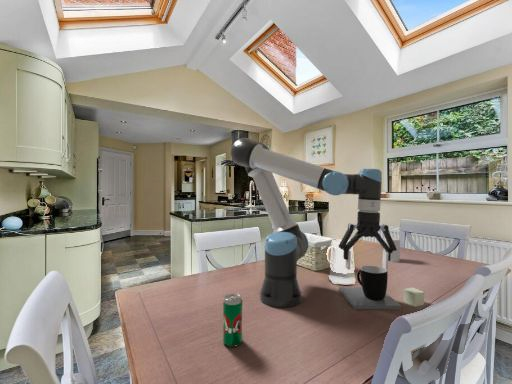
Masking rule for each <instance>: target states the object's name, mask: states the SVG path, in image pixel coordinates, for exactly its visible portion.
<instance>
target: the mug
mask: <svg viewBox="0 0 512 384" xmlns="http://www.w3.org/2000/svg"><path fill="white" fill-rule="evenodd" d="M356 273H357V274H356V279H357V282H358V283H359V285H360V287H362V289H363V293H364V295H365V297H367V298H368V299H371V300H383V299H384V298H385V295H386V293H387V289H388V277H389V275H388V271H387V269H386V268H383V267H382V266H379V265H371V264H370V265H366V264H365V265H362V266H360V269H359V270H358V271H357V272H356Z"/></svg>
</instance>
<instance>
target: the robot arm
mask: <svg viewBox="0 0 512 384" xmlns="http://www.w3.org/2000/svg"><path fill="white" fill-rule="evenodd" d="M230 157H231V159H232V161H233V162H234V163H235V164H236V165H238V166H240V167H244V168H245V171H246V173H247V176H248V177H250V178H252V179H253V181H254V184H255V186H256V189H257V192H258V194H259V197H260V199H261V201H262V203H263V206H264V209H265V211H266V214H267V216H268V217H269V220H270V222H271V226H272V228H273V231H272V233H269V234H268V235H267V236H266V237H265V241H264V279H263V282H262V284H261V287H260V291H259V299H260V301H261V302H262V303H263V304H266V305H268V306H270V307H274V308H291V307H296V306H297V305H299V304H300V303H301V302H302V291H301V288H300V284H299V281H298V278H297V277H298V276H297V272H298V271H297V269H298V267H297V266H298V265H297V261H298V260H299V259H300V258H302V257H303V256H304V255H305V253H306V251H307V249H308V239H307V237H306V235H305V234H304V233H305V232H303V231H301V229H300V226H299V224H298V223H297V222H295V221H293V218H292V216H291V215H290V211H289V209H288V207H287V205H286V202H285V199H284V198H283V195H282V193H281V190H280V188H279V185H278V183H277V181H276V179H275V176H274V174H275V175H278V176H281V177H284V178H287V179H288V180H292V181H294V182H297V183H301V184H304V185H306V186H308V187H312V188H314V189H317V190H320V191H322V192H326V193H327V194H328V195H332V196H340V195H358V198H357V201H358V202H357V210H358V211H357V223H356V224H353V223H348V226H347V230H346V231H345V234H344V235H343V236H342V238H341V240H340V242H339V244H338V248H340V250H343V256H342V257H343V260H345V269H347V270H351V256H352V255H351V254H352V252H351V251H350V250H351V249H352V247H353V246H354V245H355V244H356V243H357V242H359V240H360V239H361V238H368V237H370V238H375V239H376V241H377V242H378V243H379V244H380V246H381V247H382V248H384V249H385V250H386V251H383V250H382V262H381V264H382V265H381V267H383V268H386V269H387V272H388V271H389V261H390V260H391V253H392V252H393V251H396V250H397V249H396V246H395V244H394V242H393V240H392V238H393V237H392V236H391V233H390V230H389V227H390V226H389V225H387V224H383V223H382V225H380V221H381V213H380V211H381V203H382V202H381V197H382V183H383V182H382V173H383V172H382V171H381V170H380V169H379V168H361V169H359V172H358V173H356V174H351V173H350V174H348V173H345V174H344V173H342V172H340V171H336V170H333V169H329V168H326V167H322V166H320V165H317V164H314V163H311V162H308V161H305V160H301V159H298V158H295V157H291V156H289V155H286V154H282V153H279V152H277V151H273V150H270V149H269V147H268V146H266V145H265V144H264V143H262V142H259V141H256V140H254V139H251V138H249V137H241V138H239V139H237V140H235V141H234V143H233V144H232V146H231V148H230ZM355 230H356V232H355V233H354V231H355ZM379 231H382V235H383V236H384V238H386V240H387V243H388V245H389V246H388V245H387V244H386V243H385V241H384V238H382V236H381V234H380V233H379ZM353 233H354V235H353ZM352 235H353V236H352ZM351 236H352V237H351Z"/></svg>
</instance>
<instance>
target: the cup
mask: <svg viewBox="0 0 512 384" xmlns="http://www.w3.org/2000/svg"><path fill="white" fill-rule="evenodd" d="M383 240H384V241H385V243H386V244H387V245H388V243H387V240H386V238H385V237H383ZM392 240H393V242H394V244H395V246H396V249H397V250H396V251H393V252H392V253H391V260H390V262H389V263H391V262H392V263H398V262H399V263H400V259H401V255H400V254H401V253H400V252H401V251H400V249H401V248H400V246H401V239H400V238H397V237H392ZM388 246H389V245H388ZM382 248H383V247H382ZM383 251H386V250H385V249H384V248H383V250H382V252H383Z"/></svg>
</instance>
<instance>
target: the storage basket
mask: <svg viewBox="0 0 512 384" xmlns="http://www.w3.org/2000/svg"><path fill="white" fill-rule="evenodd" d="M303 233H304V234H305V235H306V237H307V239H308V249H307V251H306V253H305V255H304V256H303V257H302V258H300V259H299V260H298V261H297V266H300V267H301V268H305V269H308V270H311V271H316V272H318V271H321V270H326V269H329V268H331V267H330V264H329V262H328V260H327V255H326V253H327V249H328V247H329V246H330V245H331V242H332V240H336V241H337V239H336V238H332V237H327V236H323V235H317V234H312V233H307V232H303Z"/></svg>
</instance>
